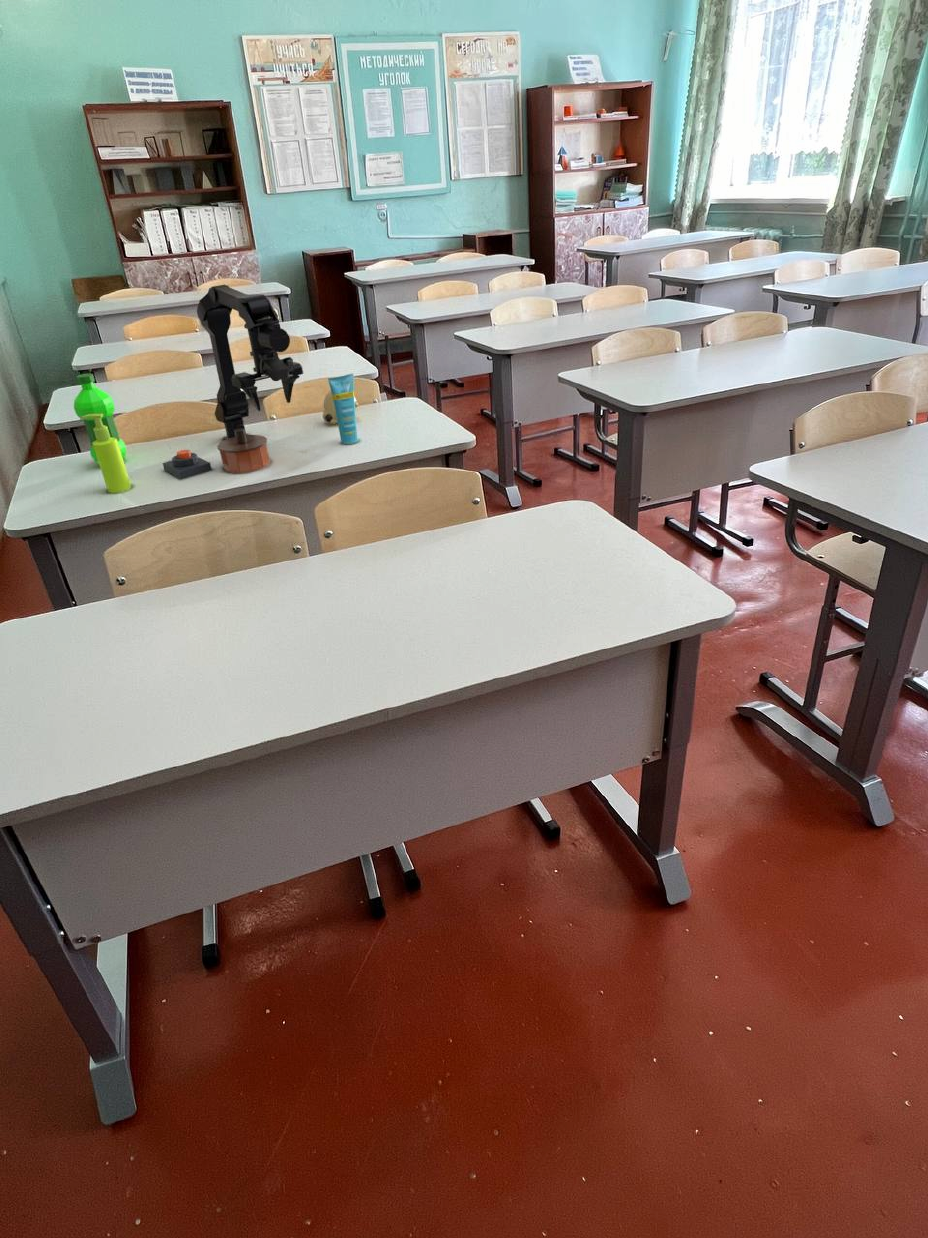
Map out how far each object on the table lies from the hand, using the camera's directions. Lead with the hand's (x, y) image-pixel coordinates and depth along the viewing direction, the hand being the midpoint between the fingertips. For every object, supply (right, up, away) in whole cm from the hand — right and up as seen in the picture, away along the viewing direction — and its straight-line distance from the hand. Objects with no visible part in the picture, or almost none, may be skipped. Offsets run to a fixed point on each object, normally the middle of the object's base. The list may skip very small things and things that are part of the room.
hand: (274, 406), depth 207 cm
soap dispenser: (-40, -24, -5) cm, 47 cm away
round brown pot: (-9, -15, +4) cm, 18 cm away
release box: (-25, -17, +4) cm, 30 cm away
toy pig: (+13, +5, +34) cm, 37 cm away
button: (-25, -14, +2) cm, 29 cm away
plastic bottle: (-50, -13, +14) cm, 54 cm away
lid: (-9, -10, +1) cm, 13 cm away
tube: (+18, -6, +16) cm, 25 cm away
